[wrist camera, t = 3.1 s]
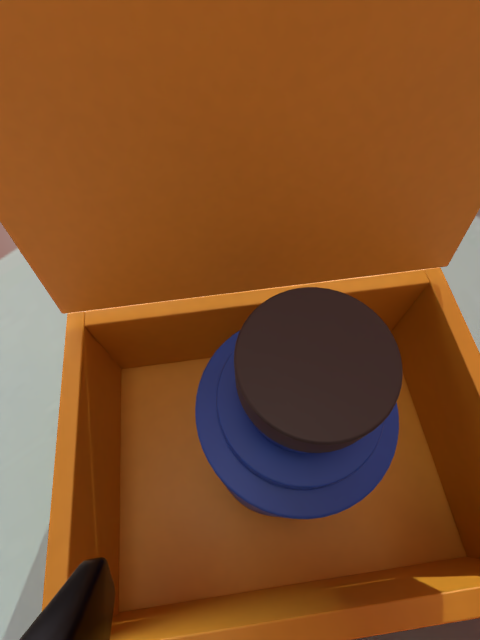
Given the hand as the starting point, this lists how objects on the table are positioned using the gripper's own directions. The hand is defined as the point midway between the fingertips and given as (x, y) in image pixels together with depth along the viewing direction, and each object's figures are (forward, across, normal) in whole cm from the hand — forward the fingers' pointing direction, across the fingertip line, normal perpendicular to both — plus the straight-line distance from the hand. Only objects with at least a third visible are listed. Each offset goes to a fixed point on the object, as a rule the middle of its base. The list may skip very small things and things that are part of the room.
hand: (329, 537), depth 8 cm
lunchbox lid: (+5, 0, -8) cm, 10 cm away
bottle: (+9, 0, +4) cm, 10 cm away
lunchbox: (+9, 0, +5) cm, 10 cm away
